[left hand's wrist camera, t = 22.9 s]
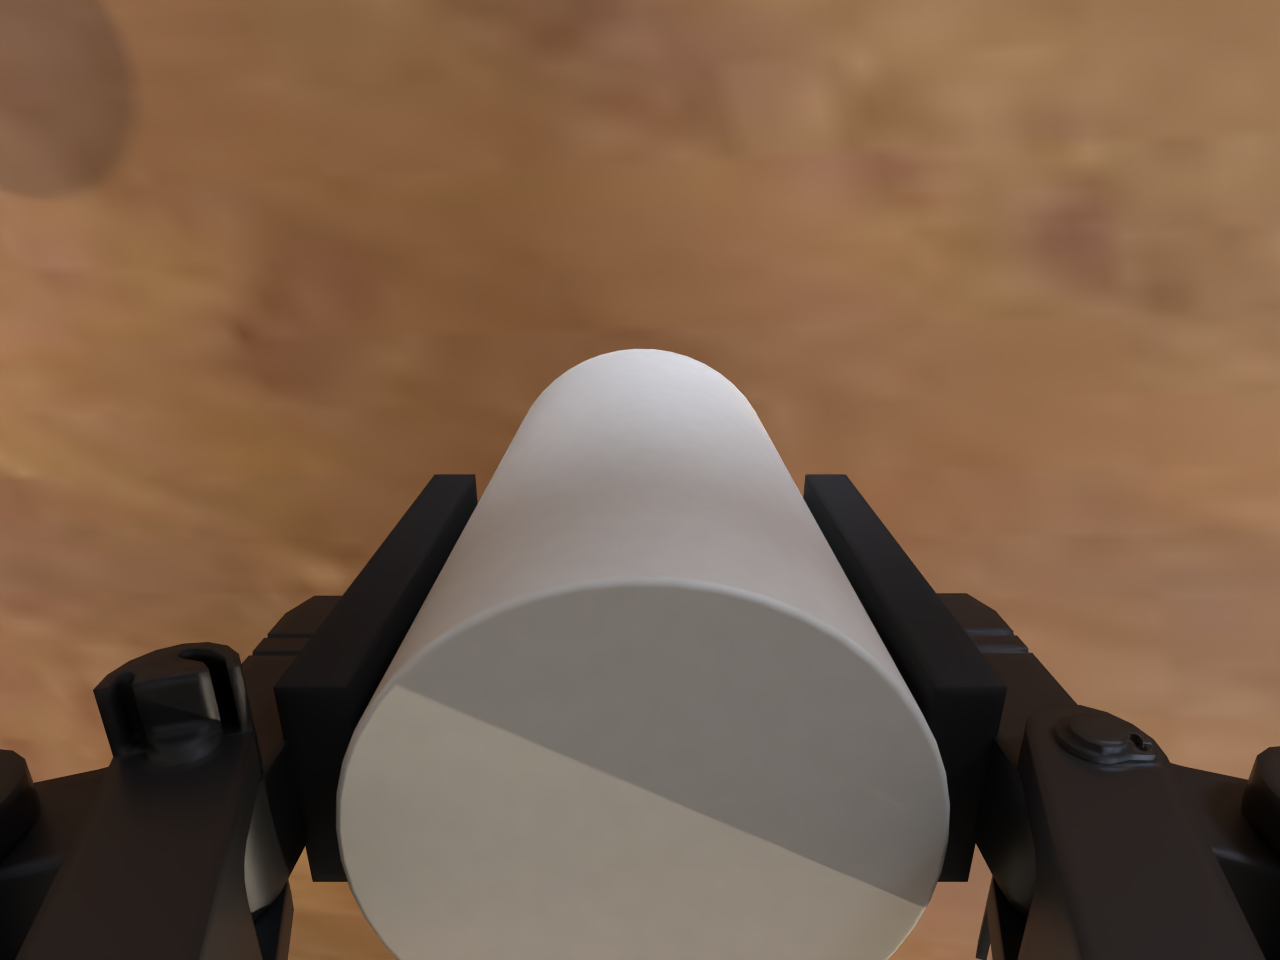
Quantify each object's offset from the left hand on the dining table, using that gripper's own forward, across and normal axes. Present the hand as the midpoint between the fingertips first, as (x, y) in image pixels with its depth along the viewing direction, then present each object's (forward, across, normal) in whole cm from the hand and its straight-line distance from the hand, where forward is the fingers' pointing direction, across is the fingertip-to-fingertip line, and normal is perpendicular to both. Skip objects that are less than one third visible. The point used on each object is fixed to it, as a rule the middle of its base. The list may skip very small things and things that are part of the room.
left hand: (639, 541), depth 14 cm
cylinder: (+4, 0, 0) cm, 4 cm away
